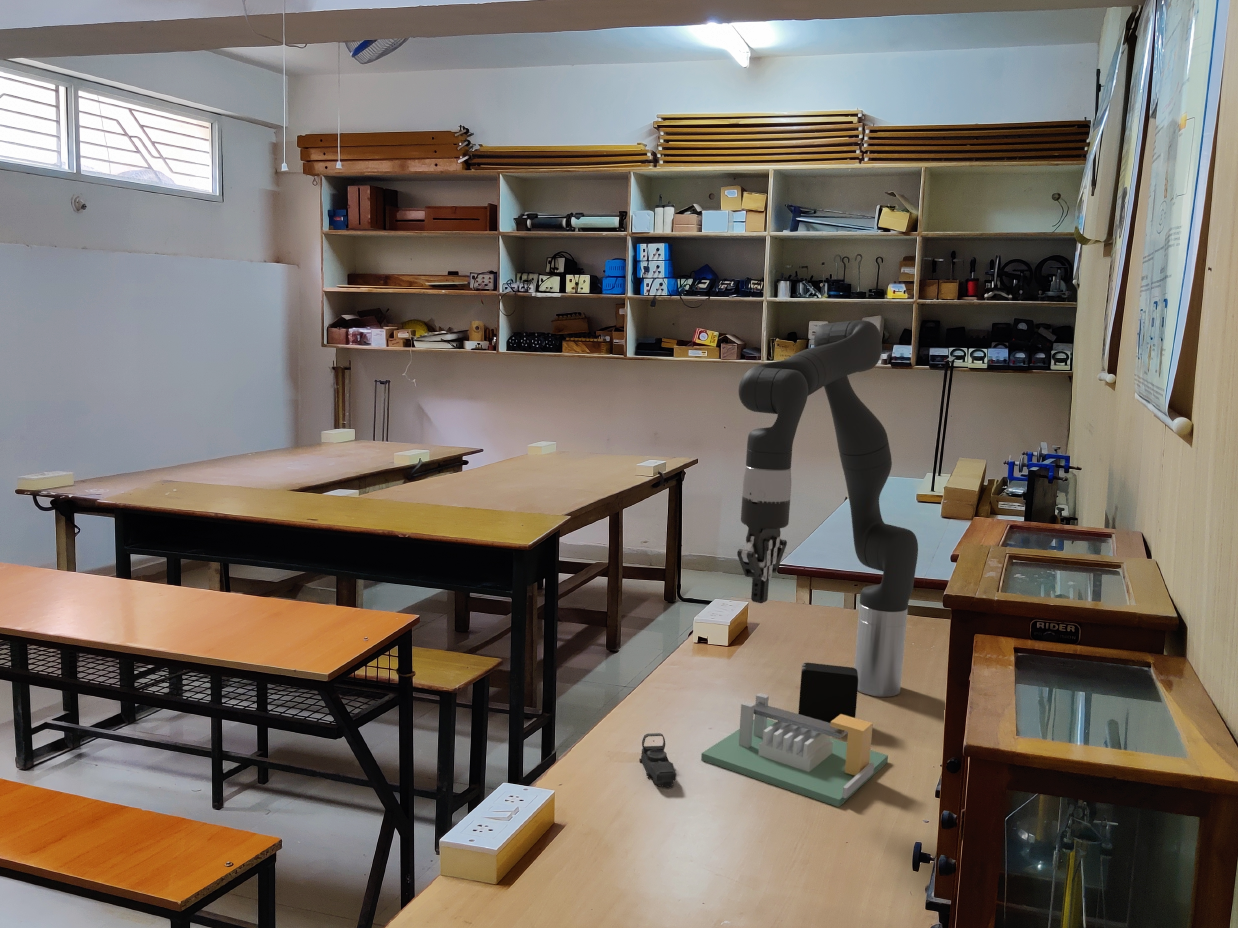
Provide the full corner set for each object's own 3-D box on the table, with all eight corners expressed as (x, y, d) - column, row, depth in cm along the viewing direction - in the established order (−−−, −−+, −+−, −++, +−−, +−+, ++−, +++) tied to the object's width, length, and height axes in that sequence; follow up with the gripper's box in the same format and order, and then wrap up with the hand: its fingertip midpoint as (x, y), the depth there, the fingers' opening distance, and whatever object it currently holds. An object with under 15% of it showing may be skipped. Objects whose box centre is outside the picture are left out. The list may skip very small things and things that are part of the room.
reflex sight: (652, 791, 150) (653, 760, 150) (639, 761, 160) (640, 732, 159) (677, 790, 151) (678, 759, 150) (662, 760, 161) (664, 731, 160)
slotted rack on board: (758, 722, 177) (761, 677, 176) (890, 762, 163) (895, 714, 162) (701, 759, 161) (704, 711, 160) (842, 808, 147) (847, 755, 146)
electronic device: (854, 729, 177) (858, 675, 175) (797, 722, 178) (801, 669, 177) (853, 719, 181) (858, 667, 179) (798, 713, 183) (802, 661, 181)
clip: (837, 758, 161) (840, 713, 160) (868, 768, 158) (872, 722, 157) (827, 766, 158) (830, 721, 156) (859, 776, 154) (863, 730, 153)
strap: (756, 706, 168) (757, 700, 168) (848, 732, 158) (848, 726, 158) (746, 712, 165) (747, 707, 165) (839, 739, 156) (839, 733, 155)
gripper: (764, 487, 163) (757, 588, 165) (724, 497, 152) (718, 605, 155) (806, 493, 159) (798, 597, 161) (768, 504, 148) (760, 615, 150)
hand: (759, 601), depth 158 cm, fingers closed
